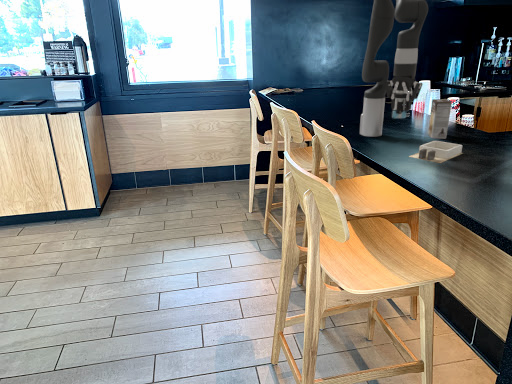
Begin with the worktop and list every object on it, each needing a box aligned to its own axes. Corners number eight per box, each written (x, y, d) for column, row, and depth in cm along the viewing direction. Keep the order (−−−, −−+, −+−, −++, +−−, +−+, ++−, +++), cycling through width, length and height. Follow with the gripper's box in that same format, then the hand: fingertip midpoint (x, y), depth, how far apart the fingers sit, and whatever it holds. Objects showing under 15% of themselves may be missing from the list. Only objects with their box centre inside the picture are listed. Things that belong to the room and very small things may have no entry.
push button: (407, 116, 146) (410, 89, 142) (411, 119, 141) (415, 91, 138) (389, 116, 147) (392, 89, 143) (393, 119, 142) (395, 91, 138)
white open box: (418, 153, 146) (419, 145, 145) (433, 147, 153) (434, 140, 151) (446, 159, 138) (447, 151, 137) (461, 152, 145) (462, 145, 144)
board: (407, 159, 143) (409, 148, 142) (431, 150, 154) (433, 140, 152) (439, 166, 134) (441, 154, 133) (462, 156, 145) (464, 145, 143)
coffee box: (427, 134, 180) (431, 99, 174) (441, 134, 179) (447, 99, 173) (431, 138, 171) (436, 102, 166) (446, 138, 170) (452, 102, 164)
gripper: (430, 61, 134) (423, 111, 141) (393, 61, 145) (389, 106, 151) (419, 63, 130) (413, 113, 136) (382, 62, 140) (377, 109, 146)
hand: (400, 110), depth 143 cm, fingers closed on push button, 4 cm apart
